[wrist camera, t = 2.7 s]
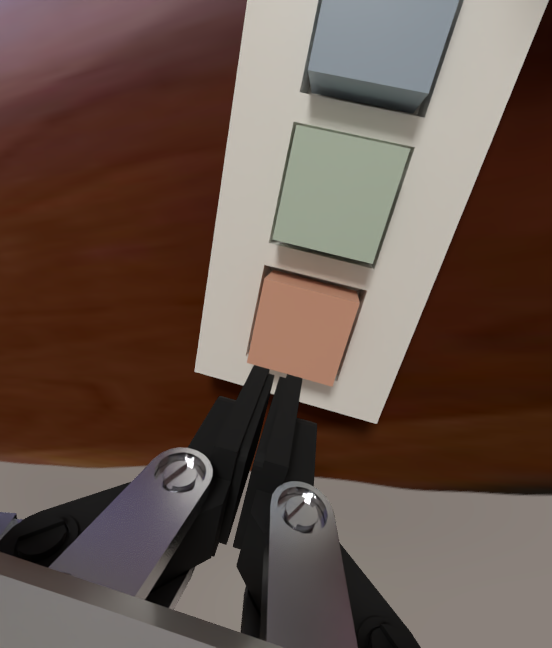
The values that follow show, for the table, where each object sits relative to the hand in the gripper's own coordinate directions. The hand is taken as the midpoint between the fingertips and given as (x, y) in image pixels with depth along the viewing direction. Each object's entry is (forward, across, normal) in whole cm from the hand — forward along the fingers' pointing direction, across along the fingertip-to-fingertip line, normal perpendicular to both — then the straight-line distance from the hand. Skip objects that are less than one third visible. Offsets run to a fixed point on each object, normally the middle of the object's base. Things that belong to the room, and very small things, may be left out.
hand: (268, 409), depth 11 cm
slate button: (+10, 0, -14) cm, 17 cm away
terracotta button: (+10, 0, 0) cm, 10 cm away
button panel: (+11, 0, -7) cm, 13 cm away
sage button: (+10, 0, -7) cm, 12 cm away
